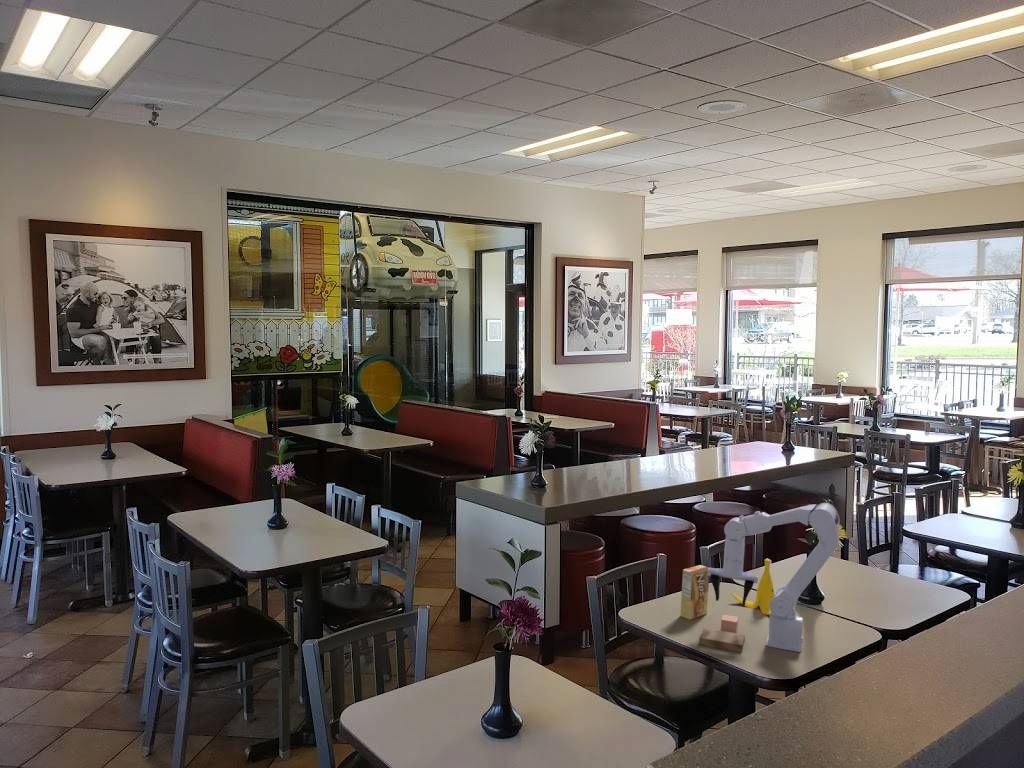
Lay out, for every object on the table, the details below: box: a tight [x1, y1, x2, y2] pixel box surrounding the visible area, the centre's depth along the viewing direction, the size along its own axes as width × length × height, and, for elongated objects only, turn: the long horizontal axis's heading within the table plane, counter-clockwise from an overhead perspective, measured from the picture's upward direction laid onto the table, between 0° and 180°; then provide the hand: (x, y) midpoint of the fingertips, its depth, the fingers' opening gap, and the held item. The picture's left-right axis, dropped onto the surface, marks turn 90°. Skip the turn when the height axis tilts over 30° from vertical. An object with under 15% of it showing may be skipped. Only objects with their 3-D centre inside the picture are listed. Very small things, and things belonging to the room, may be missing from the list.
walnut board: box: [698, 627, 746, 653], centre depth 225 cm, size 12×8×2 cm, turn 68°
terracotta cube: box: [720, 614, 739, 634], centre depth 233 cm, size 4×4×4 cm
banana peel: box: [731, 558, 775, 616], centre depth 254 cm, size 17×19×17 cm
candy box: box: [679, 564, 710, 620], centre depth 245 cm, size 9×4×15 cm, turn 129°
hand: (730, 601), depth 232 cm, fingers open, 7 cm apart
